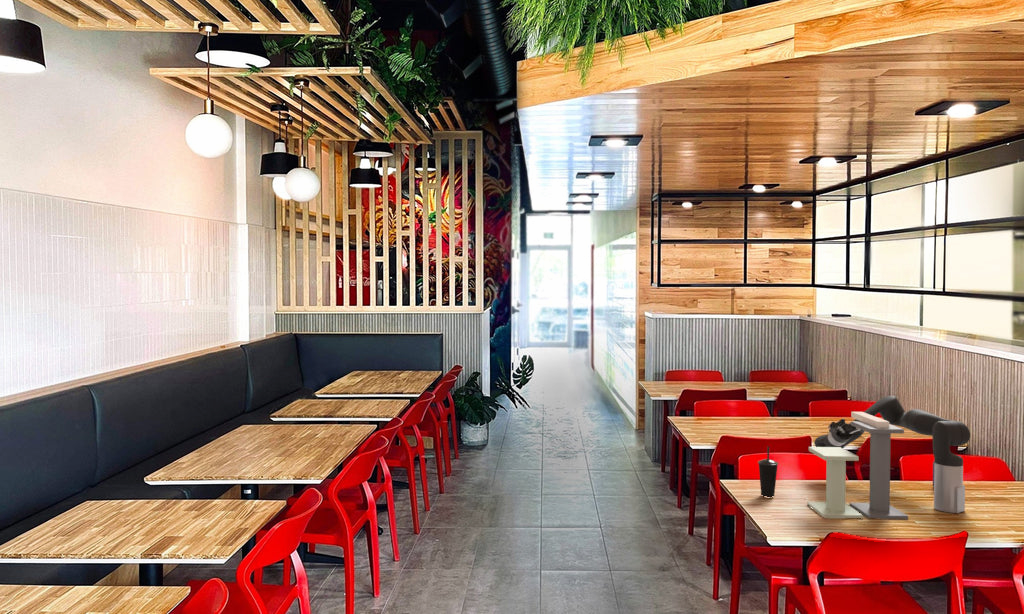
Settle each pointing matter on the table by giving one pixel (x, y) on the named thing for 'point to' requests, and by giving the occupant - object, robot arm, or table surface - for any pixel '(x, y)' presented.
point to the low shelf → (835, 483)
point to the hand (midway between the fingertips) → (855, 420)
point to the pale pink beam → (870, 419)
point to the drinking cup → (767, 475)
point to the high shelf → (879, 473)
